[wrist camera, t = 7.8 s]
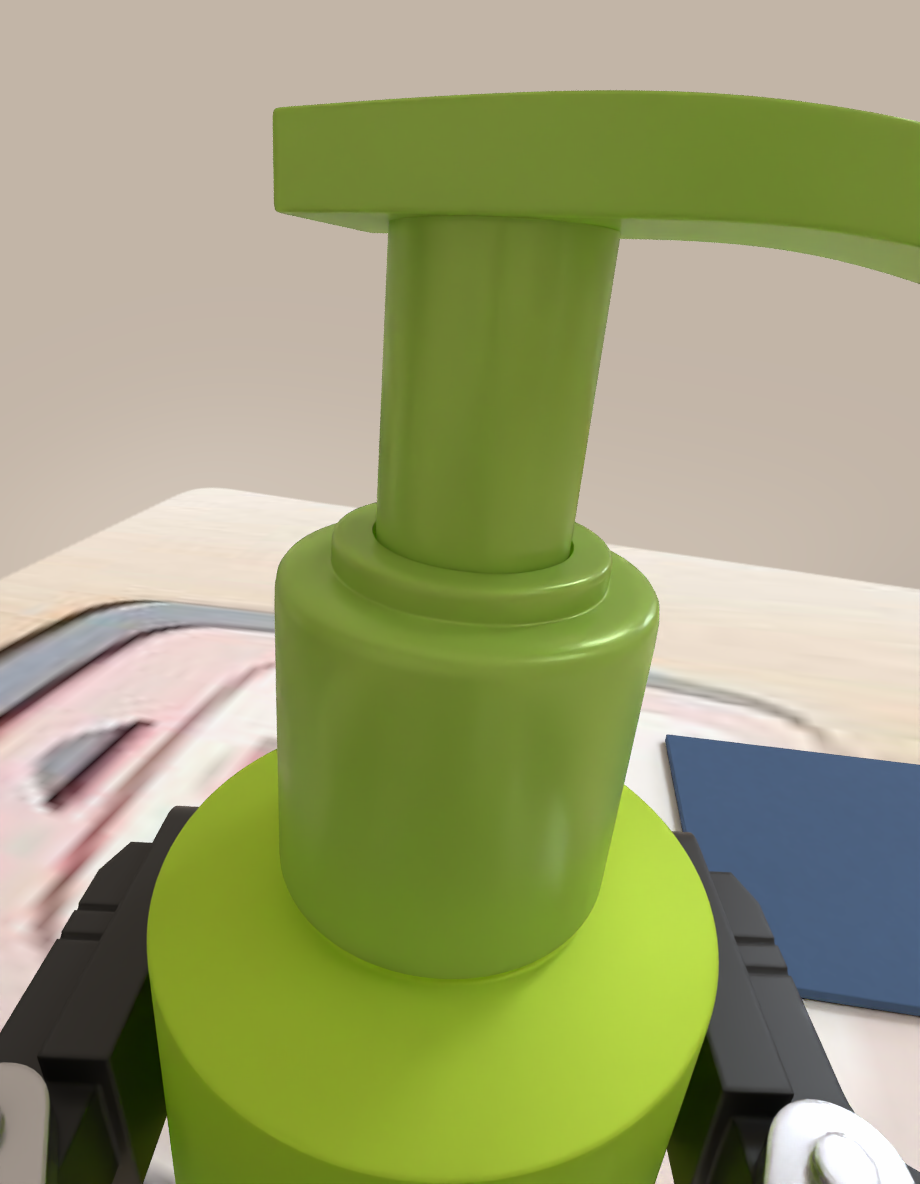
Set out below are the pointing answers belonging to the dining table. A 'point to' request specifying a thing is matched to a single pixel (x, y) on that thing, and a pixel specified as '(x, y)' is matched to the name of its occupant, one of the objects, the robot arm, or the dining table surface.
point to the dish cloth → (816, 859)
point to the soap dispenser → (478, 671)
